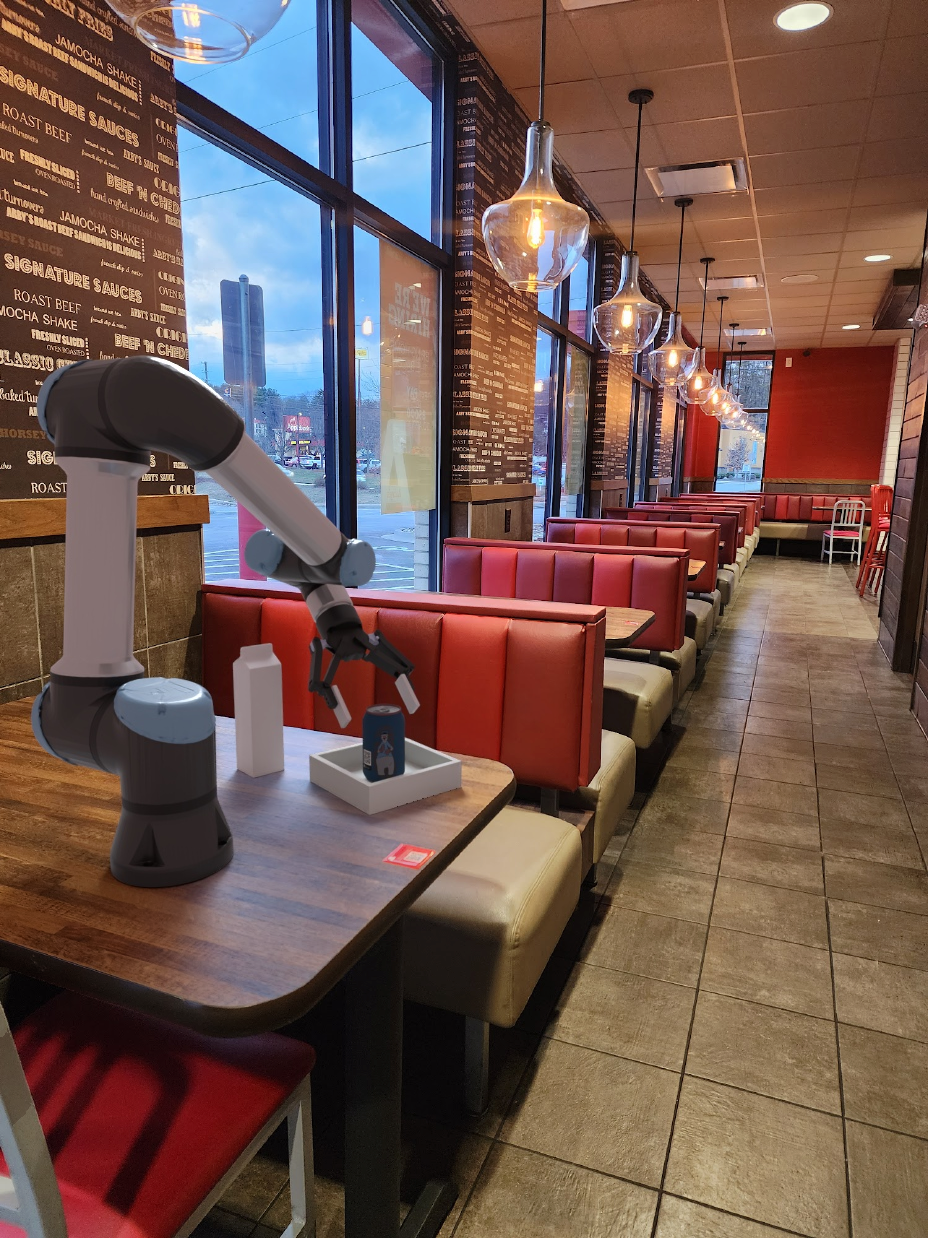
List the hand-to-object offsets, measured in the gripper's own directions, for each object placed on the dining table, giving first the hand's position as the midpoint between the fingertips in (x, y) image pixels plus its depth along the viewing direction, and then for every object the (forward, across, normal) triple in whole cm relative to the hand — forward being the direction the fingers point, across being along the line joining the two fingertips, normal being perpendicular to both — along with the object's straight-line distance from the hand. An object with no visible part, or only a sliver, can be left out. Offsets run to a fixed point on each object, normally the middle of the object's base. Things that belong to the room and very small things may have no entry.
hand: (381, 716), depth 132 cm
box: (+9, +1, -6) cm, 11 cm away
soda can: (+9, +1, -6) cm, 10 cm away
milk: (-4, +14, -20) cm, 25 cm away
